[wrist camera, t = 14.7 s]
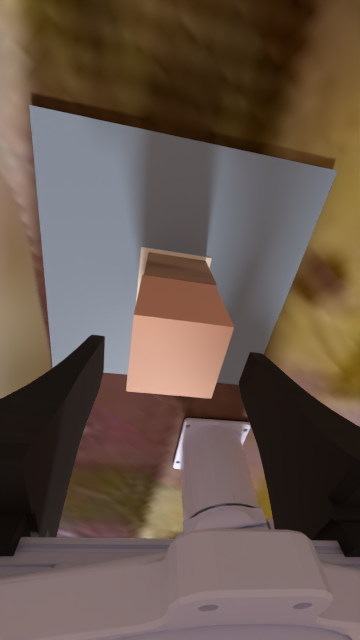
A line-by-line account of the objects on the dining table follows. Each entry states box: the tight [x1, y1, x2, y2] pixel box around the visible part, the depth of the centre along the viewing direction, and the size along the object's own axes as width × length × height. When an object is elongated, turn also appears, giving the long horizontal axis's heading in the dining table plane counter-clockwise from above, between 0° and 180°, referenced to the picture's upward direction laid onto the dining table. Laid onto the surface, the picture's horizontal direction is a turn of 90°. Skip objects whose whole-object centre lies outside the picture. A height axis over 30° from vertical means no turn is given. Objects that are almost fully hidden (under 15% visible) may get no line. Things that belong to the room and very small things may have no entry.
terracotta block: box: [126, 275, 234, 399], centre depth 15 cm, size 4×4×5 cm
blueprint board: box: [29, 105, 337, 385], centre depth 22 cm, size 20×20×1 cm
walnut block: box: [144, 252, 217, 287], centre depth 19 cm, size 4×4×5 cm
